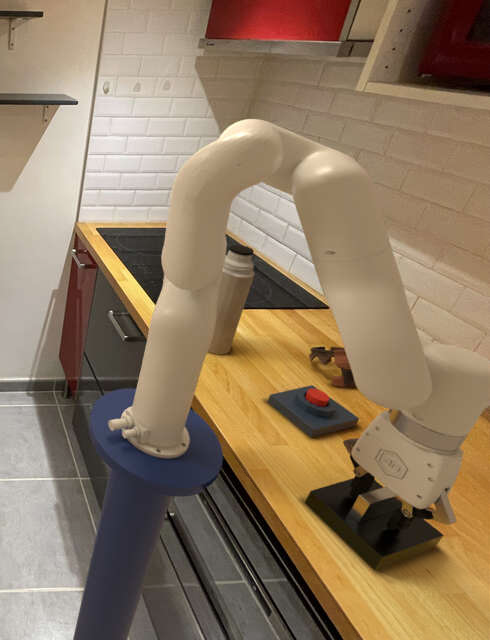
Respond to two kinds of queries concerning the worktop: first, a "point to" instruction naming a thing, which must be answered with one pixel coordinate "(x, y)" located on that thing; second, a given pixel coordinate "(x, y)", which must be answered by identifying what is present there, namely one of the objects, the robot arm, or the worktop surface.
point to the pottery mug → (340, 362)
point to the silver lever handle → (375, 504)
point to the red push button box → (312, 412)
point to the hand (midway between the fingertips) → (375, 509)
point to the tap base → (370, 527)
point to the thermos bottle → (232, 296)
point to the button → (317, 397)
